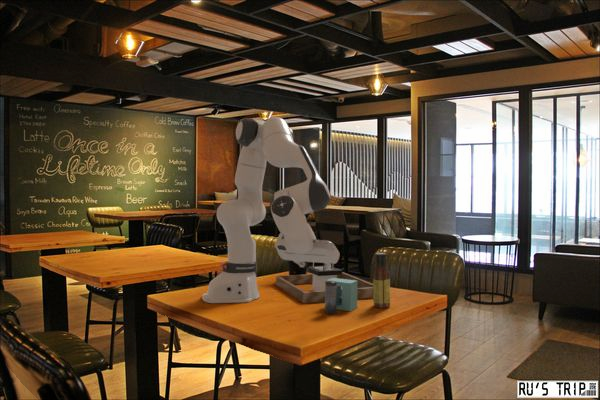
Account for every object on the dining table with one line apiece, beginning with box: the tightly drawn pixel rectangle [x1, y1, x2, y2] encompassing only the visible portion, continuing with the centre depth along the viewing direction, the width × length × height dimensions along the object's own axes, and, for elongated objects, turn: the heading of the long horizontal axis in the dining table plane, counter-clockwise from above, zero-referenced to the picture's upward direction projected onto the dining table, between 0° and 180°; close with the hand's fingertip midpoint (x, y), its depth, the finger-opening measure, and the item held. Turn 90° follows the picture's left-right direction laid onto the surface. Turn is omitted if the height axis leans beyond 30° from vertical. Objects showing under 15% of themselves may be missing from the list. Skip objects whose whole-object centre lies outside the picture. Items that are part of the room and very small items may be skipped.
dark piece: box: [324, 281, 342, 316], centre depth 174 cm, size 16×4×11 cm, turn 150°
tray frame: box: [275, 271, 373, 304], centre depth 205 cm, size 33×35×4 cm
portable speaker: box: [288, 260, 308, 275], centre depth 226 cm, size 9×9×20 cm
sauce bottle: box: [372, 252, 391, 309], centre depth 179 cm, size 6×6×20 cm
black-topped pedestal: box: [307, 262, 343, 291], centre depth 203 cm, size 28×26×13 cm
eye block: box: [326, 278, 358, 312], centre depth 177 cm, size 6×10×10 cm, turn 60°
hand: (315, 266), depth 157 cm, fingers open, 8 cm apart
